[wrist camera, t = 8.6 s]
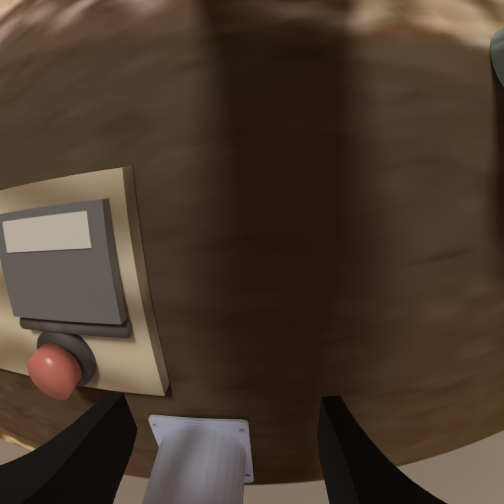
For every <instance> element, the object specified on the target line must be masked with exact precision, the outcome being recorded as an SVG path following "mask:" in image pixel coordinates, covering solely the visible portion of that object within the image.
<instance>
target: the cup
mask: <svg viewBox="0 0 504 504" xmlns="http://www.w3.org/2000/svg"><path fill="white" fill-rule="evenodd" d="M490 54H491V60H492V64H493V67H494V70H495V72H496V75H497V77H498V79H499V81H500V82H501V84H502V86H503V87H504V28H503V29H501V30H499V31H498V32H497V33H496V34H495V35H494V37H493V38H492V40H491V46H490Z"/></svg>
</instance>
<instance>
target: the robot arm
mask: <svg viewBox="0 0 504 504" xmlns="http://www.w3.org/2000/svg"><path fill="white" fill-rule="evenodd" d="M149 423H150V426H151V428H152V431H153V433H154V436H155V438H156V441H157V443H158V446H159V450H158V453H157V456H156V459H155V462H154V466H153V469H152V472H151V475H150V479H149V482H148V485H147V489H146V492H145V495H144V499H143V502H142V504H243V492H244V483H250V482H253V481H254V475H253V465H252V454H251V444H250V433H249V423H248V421H246V420H243V419H207V418H188V417H174V416H162V415H150V417H149ZM136 433H137V426H136V424H135V421H134V419H133V417H132V414H131V412H130V409H129V406H128V404H127V401H126V399H125V396H124V394H123V393H115V392H109V393H108V394H106V395H105V396H104V397H103V398H102V399H101V400H99V401H98V402H97V403H96V404H95V405H94V406H93V407H91V408H90V409H89V410H88V411H87V412H86V413H84V414H83V415H82V416H81V417H80V418H79V419H77V420H76V421H75V422H74V423H73V424H71V425H70V426H69V427H67V428H66V429H65V430H64V431H62V432H61V433H60V434H58V435H57V436H56V437H54V438H53V439H51V440H50V441H48V442H47V443H45V444H44V445H42V446H40V447H39V448H37V449H35V450H34V451H32V452H30V453H28V454H26V455H24V456H22V457H20V458H17V459H15V460H13V461H11V462H8V463H5V464H3V465H0V504H113V501H114V498H115V495H116V492H117V490H118V487H119V484H120V482H121V479H122V477H123V474H124V472H125V469H126V466H127V464H128V461H129V459H130V456H131V453H132V451H133V447H134V443H135V438H136ZM317 436H318V447H319V457H320V462H321V466H322V471H323V475H324V480H325V485H326V489H327V493H328V498H329V503H330V504H447V503H445V502H443V501H442V500H440V499H438V498H436V497H435V496H433V495H432V494H430V493H429V492H427V491H425V489H423V488H421V487H420V486H419V485H417V484H416V483H415V482H413V481H412V480H411V479H409V478H408V477H407V476H406V475H405V474H404V473H402V472H401V471H400V470H399V469H398V468H397V467H396V466H395V465H394V464H393V463H392V462H390V461H389V460H388V458H387V457H386V456H385V455H384V454H383V453H382V452H381V451H380V450H379V449H378V448H377V447H376V445H375V444H374V443H373V442H372V441H371V439H370V438H369V437H368V436H367V434H366V433H365V432H364V431H363V429H362V428H361V427H360V425H359V424H358V423H357V421H356V420H355V418H354V417H353V415H352V414H351V412H350V411H349V409H348V408H347V406H346V405H345V403H344V401H343V400H342V398H341V397H340V396H328V397H322V398H321V407H320V416H319V424H318V431H317Z"/></svg>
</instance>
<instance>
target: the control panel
mask: <svg viewBox="0 0 504 504" xmlns="http://www.w3.org/2000/svg"><path fill="white" fill-rule="evenodd" d="M105 198H109V204H110V214H111V223H112V232H113V240H114V247H115V255H116V261H117V268H118V274H119V280H120V286H121V292H122V298H123V303H124V308H125V313H126V318H127V319H126V320H125V321H124V322H123V323H122V324H102V323H85V322H70V321H57V320H45V319H34V318H24V317H15V316H14V314H13V311H12V307H11V303H10V300H9V296H8V292H7V288H6V283H5V279H4V275H3V270H2V265H1V260H0V368H1V369H5V370H9V371H13V372H17V373H21V374H25V375H29V373H28V371H27V362H28V360H29V359H30V357H31V356H32V355H33V354H34V353H35V352H36V351H37V350H38V349H39V348H40V347H41V346H42V345H43V344H44V343H47V342H52V343H56V344H58V345H60V346H62V347H64V348H65V349H66V350H68V351H69V352H70V353H71V354H72V355H73V356H74V358H75V359H76V360H77V362H78V364H79V366H80V369H81V373H82V376H81V380H80V381H79V383H78V384H77V387H79V386H85V387H91V388H98V389H105V390H112V391H120V392H129V393H138V394H149V395H160V396H165V394H166V391H167V388H168V386H169V383H170V382H169V378H168V374H167V370H166V366H165V362H164V357H163V353H162V349H161V344H160V340H159V335H158V331H157V326H156V321H155V316H154V311H153V306H152V301H151V295H150V290H149V284H148V279H147V273H146V267H145V260H144V254H143V247H142V240H141V233H140V226H139V218H138V210H137V202H136V192H135V183H134V172H133V166H130V167H122V168H115V169H108V170H102V171H95V172H89V173H83V174H77V175H71V176H66V177H60V178H55V179H50V180H45V181H40V182H35V183H30V184H26V185H21V186H17V187H12V188H8V189H4V190H0V214H1V213H7V212H13V211H19V210H25V209H32V208H38V207H45V206H51V205H58V204H66V203H73V202H81V201H89V200H97V199H105Z"/></svg>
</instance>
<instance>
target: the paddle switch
mask: <svg viewBox="0 0 504 504" xmlns="http://www.w3.org/2000/svg"><path fill="white" fill-rule="evenodd" d="M0 260H1V265H2V270H3V275H4V279H5V283H6V288H7V292H8V296H9V300H10V303H11V307H12V311H13V314H14V316H15V317H24V318H34V319H45V320H57V321H70V322H85V323H102V324H122V323H123V322H124V321H125V320H126V319H127V318H126V313H125V308H124V303H123V298H122V292H121V286H120V280H119V274H118V268H117V261H116V255H115V247H114V240H113V232H112V223H111V214H110V204H109V198H105V199H97V200H89V201H81V202H73V203H66V204H58V205H51V206H45V207H38V208H32V209H25V210H19V211H13V212H7V213H1V214H0Z"/></svg>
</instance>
